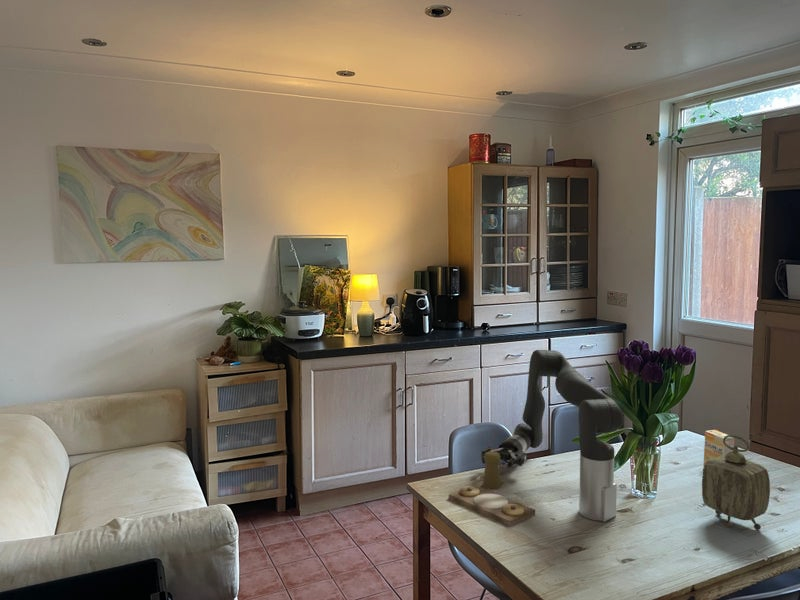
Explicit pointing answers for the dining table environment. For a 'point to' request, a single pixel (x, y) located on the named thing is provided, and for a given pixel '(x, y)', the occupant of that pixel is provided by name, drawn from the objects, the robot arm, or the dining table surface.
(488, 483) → the cork
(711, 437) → the supplement box
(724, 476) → the tabletop clock
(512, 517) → the board
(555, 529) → the dining table surface
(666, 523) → the dining table surface
